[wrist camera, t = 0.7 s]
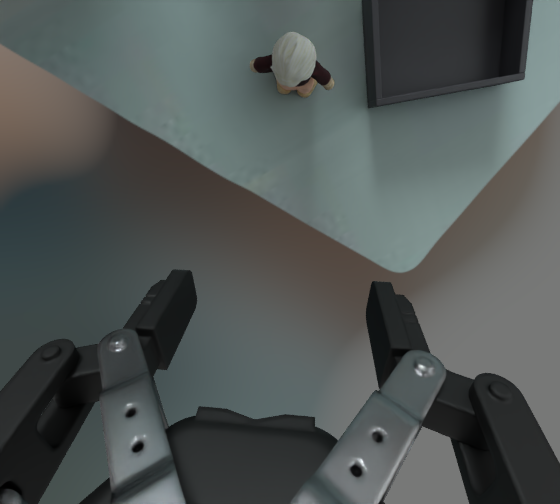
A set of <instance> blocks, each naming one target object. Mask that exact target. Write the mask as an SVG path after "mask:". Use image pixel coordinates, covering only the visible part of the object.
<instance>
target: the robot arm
mask: <svg viewBox="0 0 560 504" xmlns="http://www.w3.org/2000/svg"><path fill="white" fill-rule="evenodd" d="M196 304H197V295H196V290H195V285H194V280H193V276H192V272H191V271H190V270H172V271H171V273H170V275H169V276H168V278H167V279H166V280H160V281H159V282H158V283H156V284H155V285H154V286H152V287H151V289H150V290H149V291H148V293H147V294H146V297H144V298H143V300H142V301H141V304H139V306H138V307H137V309H136V310H135V311H134V313H133V314H132V316H131V317H130V319H129V320H128V321H127V323H126V324H125V326H124V327H123V329H119V330H116V331H113V332H111V333H109V334H108V335H106V336H105V337H104V338H103V339H102V340H101V341H100V342H99V344H95V345H89V346H83V347H78V348H75V346H74V344H73V342H72V341H70V340H68V339H58V340H54V341H51V342H49V343H47V344H45V345H43V346H41V347H40V348H38V349H37V350H36V351H35V352H34V353H33V354H32V355H31V356H30V357H29V359H28V360H27V361H26V362H25V363H24V365H23V366H22V367H21V368H20V369H19V370H18V371H17V373H16V374H15V375H14V376H13V377H12V378H11V380H10V381H9V382H8V383H7V384H6V385H5V386H4V388H3V389H2V390H1V391H0V504H38V503H39V501H40V499H41V497H42V495H43V494H44V492H45V490H46V488H47V487H48V485H49V483H50V481H51V479H52V478H53V476H54V474H55V472H56V471H57V469H58V467H59V465H60V464H61V462H62V460H63V458H64V457H65V455H66V452H67V451H68V449H69V448H70V446H71V444H72V442H73V441H74V439H75V437H76V435H77V433H78V432H79V430H80V428H81V426H82V425H83V423H84V421H85V419H86V418H87V416H88V414H89V412H90V410H91V409H92V407H93V405H94V403H95V402H97V401H100V408H101V415H102V423H103V431H104V438H105V446H106V452H107V461H108V469H109V476H110V477H109V478H108V479H107V480H106V481H105V482H103V483H102V484H101V485H100V486H99V487H98V488H96V489H95V490H94V491H93V492H92V493H91V494H89V495H88V496H87V497H86V498H85V499H84V500H83V501H81V502H80V503H79V504H385V503H384V502H383V501H384V499H385V497H386V496H387V494H388V492H389V490H390V488H391V485H392V484H393V482H394V480H395V478H396V476H397V474H398V472H399V470H400V468H401V466H402V464H403V462H404V460H405V458H406V457H407V455H408V453H409V451H410V449H411V447H412V445H413V443H414V441H415V439H416V437H417V436H418V434H419V432H420V430H421V428H422V426H423V427H426V428H428V429H431V430H433V431H436V432H438V433H441V434H443V435H445V436H448V437H450V438H451V442H452V445H453V449H454V452H455V456H456V459H457V463H458V466H459V469H460V473H461V476H462V480H463V483H464V487H465V490H466V493H467V497H468V500H469V504H560V463H559V462H558V460H557V458H556V456H555V454H554V452H553V450H552V448H551V447H550V445H549V443H548V441H547V439H546V437H545V435H544V433H543V432H542V430H541V428H540V426H539V424H538V422H537V421H536V419H535V417H534V415H533V413H532V411H531V409H530V407H529V406H528V404H527V402H526V400H525V398H524V396H523V395H522V393H521V392H520V390H519V389H518V388H517V387H516V386H515V385H514V384H513V383H511V382H510V381H508V380H507V379H505V378H503V377H501V376H499V375H496V374H491V373H483V374H479V375H478V376H477V377H476V378H475V380H473V379H470V378H467V377H464V376H461V375H459V374H455V373H453V372H451V371H449V370H447V369H445V367H444V365H443V364H442V363H441V361H440V360H439V359H438V358H436V357H435V356H433V355H432V354H431V353H430V351H429V348H428V345H427V343H426V340H425V338H424V335H423V332H422V330H421V327H420V324H419V323H418V319H417V317H416V315H415V312H414V309H413V306H412V304H411V303H410V302H409V301H408V299H406V297H404V295H396V294H395V292H394V290H393V286H392V284H391V283H390V282H377V281H373V282H372V284H371V289H370V293H369V298H368V303H367V308H366V321H367V327H368V333H369V338H370V343H371V349H372V354H373V359H374V365H375V370H376V375H377V381H378V386H379V389H380V390H379V391H377V390H375V391H374V392H373V393H372V395H371V396H370V397H369V399H368V400H367V401H366V403H365V404H364V406H363V407H362V409H361V410H360V411H359V413H358V414H357V415H356V417H355V418H354V420H353V421H352V422H351V424H350V425H349V426H348V428H347V429H346V431H345V432H344V433H343V435H342V436H341V438H340V439H339V440H337V439H336V438H335V437H333V436H332V435H330V434H329V433H328V432H326V431H324V430H322V429H320V428H317V427H315V417H308V416H296V415H286V414H285V415H279V416H273V417H268V418H261V419H252V418H249V417H246V416H244V415H241V414H239V413H236V412H233V411H231V410H228V409H222V408H212V407H201V406H200V407H199V408H198V411H197V414H196V416H192V417H189V418H185V419H183V420H180V421H178V422H176V423H174V424H173V425H171V426H170V427H169V425H168V422H167V419H166V416H165V413H164V410H163V406H162V403H161V400H160V396H159V393H158V390H157V387H156V383H155V380H154V377H153V376H154V374H155V372H156V370H157V369H161V370H167V369H168V367H169V365H170V362H171V360H172V358H173V356H174V354H175V352H176V349H177V347H178V345H179V343H180V341H181V339H182V337H183V334H184V332H185V330H186V328H187V326H188V324H189V322H190V319H191V317H192V315H193V313H194V311H195V308H196ZM52 398H53V399H52ZM50 401H51V402H50ZM48 404H49V405H48ZM47 405H48V406H47ZM46 407H47V408H46ZM45 408H46V409H45ZM43 411H44V412H43ZM41 414H42V415H41Z"/></svg>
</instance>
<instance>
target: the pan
mask: <svg viewBox="0 0 560 504" xmlns="http://www.w3.org/2000/svg"><path fill="white" fill-rule="evenodd" d="M532 5H533V0H362V12H363V30H364V48H365V65H366V83H367V101H368V108H373V107H379V106H384V105H390V104H395V103H401V102H406V101H412V100H417V99H423V98H428V97H434V96H439V95H445V94H450V93H456V92H461V91H467V90H473V89H478V88H484V87H489V86H495V85H500V84H505V83H510V82H514V81H519V80H523V79H524V78H525V73H524V72H525V69H526V59H527V50H528V41H529V32H530V23H531V14H532Z"/></svg>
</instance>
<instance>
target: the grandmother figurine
mask: <svg viewBox="0 0 560 504" xmlns="http://www.w3.org/2000/svg"><path fill="white" fill-rule="evenodd" d="M250 69H251V70H252V71H253V72H255V73H257V72H259V73H268V72H274V74H275V77H276V79H277V89H278V91H279V93H281V94H289V93H290V92H291V90H297V93H298V94H299V95H300V96H301V97H304V98H306V97H309V96H310V94H311V93H312V91H313V90H314V88H315V87H316V85H317V83H319V84H321V85H322V86H323V87H324V88H325V89H326V90H330V89H332V88H333V87H334V80H333V79H332V77H331V75H330V73H329V72H328V71H327V70H326V69H325V68H323V67H322V66H321V65H320V63H319V62H318V61H317V60H316V50H315V47H314V45H313V43H312V42H310V40H309V39H308V38H306V37H304V36H301V35H299V34H298V33H295V32H288V33H286V34H284V35H283V36H282V37H281V38H280V39H279V40H278V41H277V42H276V44H275V45H274V48H273V53H272V55H269V56H265V57H258V58H256V59H254V60H252V61H251V62H250Z"/></svg>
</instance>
